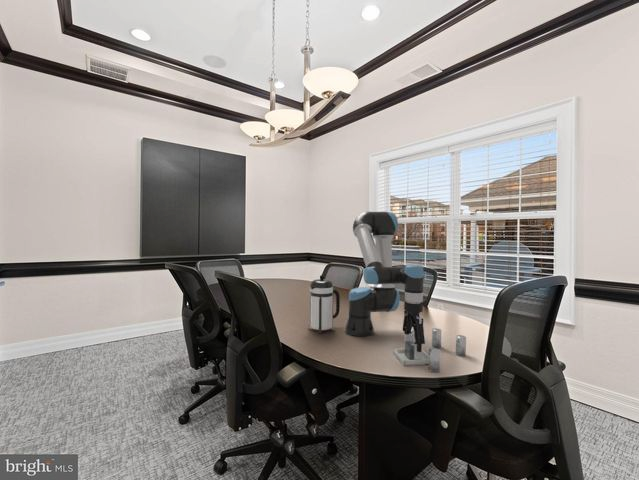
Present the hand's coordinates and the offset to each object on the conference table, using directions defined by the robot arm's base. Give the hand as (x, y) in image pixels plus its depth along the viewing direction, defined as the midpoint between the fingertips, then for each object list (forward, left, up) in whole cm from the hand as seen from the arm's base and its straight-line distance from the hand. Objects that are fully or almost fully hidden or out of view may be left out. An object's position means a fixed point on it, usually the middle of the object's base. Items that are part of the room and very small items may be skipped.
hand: (412, 353), depth 131 cm
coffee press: (-33, +42, -2) cm, 53 cm away
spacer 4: (+23, +2, -2) cm, 23 cm away
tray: (0, 0, -2) cm, 2 cm away
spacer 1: (+6, +10, -2) cm, 12 cm away
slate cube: (0, 0, -2) cm, 2 cm away
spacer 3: (+4, -11, -2) cm, 12 cm away
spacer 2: (+17, +12, -2) cm, 21 cm away
